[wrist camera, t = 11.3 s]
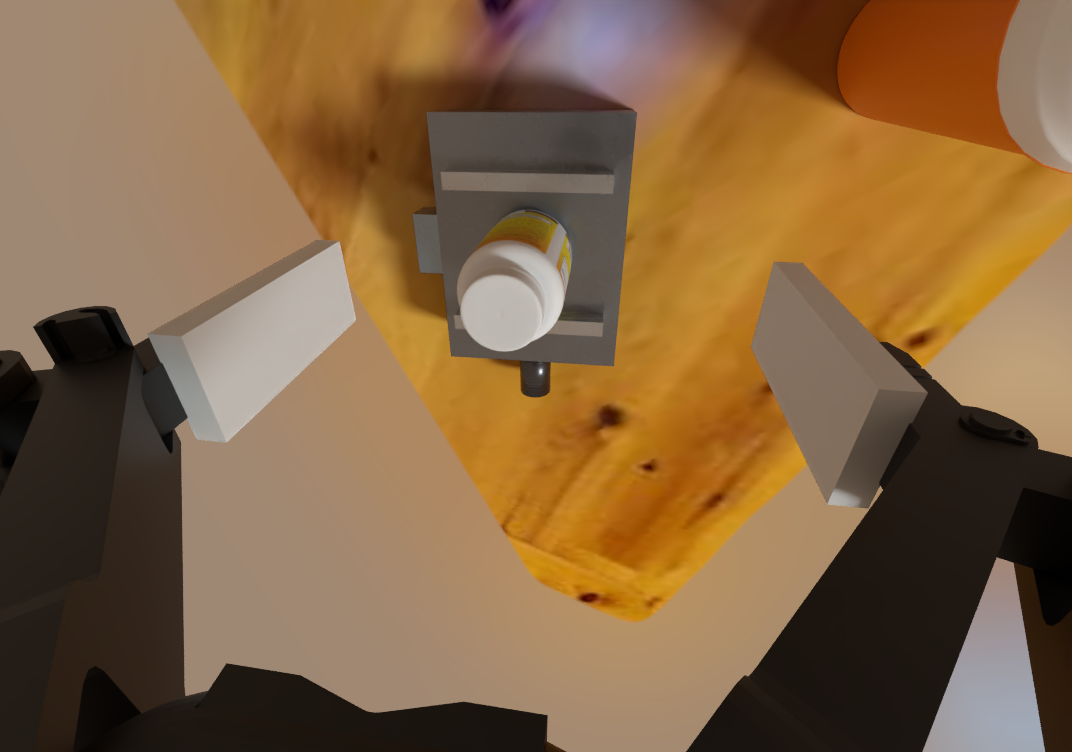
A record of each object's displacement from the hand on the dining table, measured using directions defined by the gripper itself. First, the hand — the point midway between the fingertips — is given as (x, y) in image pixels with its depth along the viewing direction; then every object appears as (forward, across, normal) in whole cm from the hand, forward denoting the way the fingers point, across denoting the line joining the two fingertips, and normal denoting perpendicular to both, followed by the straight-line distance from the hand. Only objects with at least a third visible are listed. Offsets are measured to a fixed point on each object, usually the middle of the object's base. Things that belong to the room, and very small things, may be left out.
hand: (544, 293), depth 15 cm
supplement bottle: (+17, -3, -4) cm, 18 cm away
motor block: (+22, -4, -6) cm, 23 cm away
